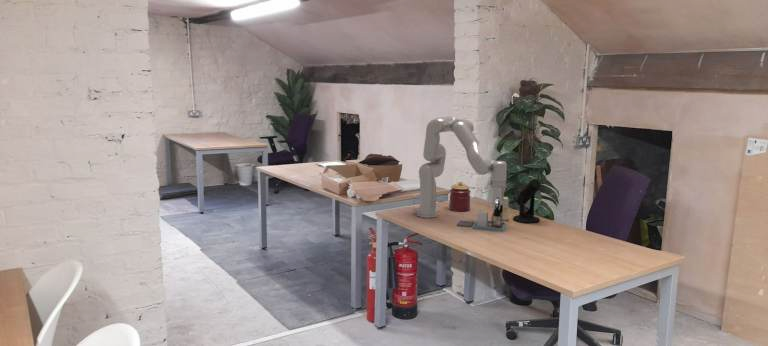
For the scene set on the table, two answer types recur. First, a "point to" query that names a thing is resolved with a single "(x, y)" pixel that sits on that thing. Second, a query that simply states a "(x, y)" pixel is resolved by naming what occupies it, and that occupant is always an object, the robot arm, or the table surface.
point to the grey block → (482, 218)
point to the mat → (465, 223)
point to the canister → (460, 197)
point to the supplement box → (504, 208)
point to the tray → (489, 227)
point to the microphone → (523, 198)
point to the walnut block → (497, 221)
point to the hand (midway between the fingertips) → (498, 214)
